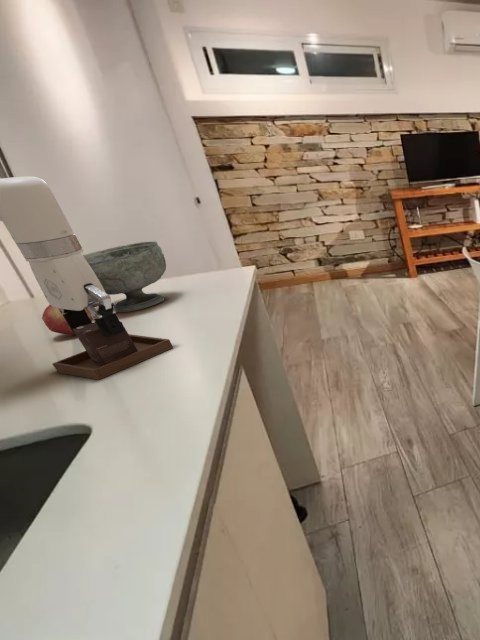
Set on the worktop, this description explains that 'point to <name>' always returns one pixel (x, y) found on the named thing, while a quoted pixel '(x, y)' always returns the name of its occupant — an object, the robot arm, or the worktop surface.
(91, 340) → the box
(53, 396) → the worktop surface
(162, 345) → the desk tray
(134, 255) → the bowl
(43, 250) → the robot arm
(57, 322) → the fruit
